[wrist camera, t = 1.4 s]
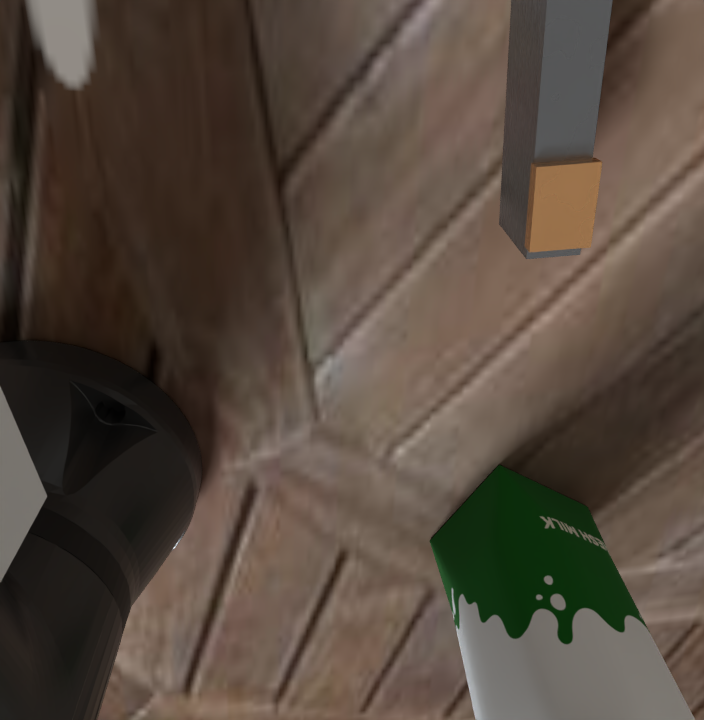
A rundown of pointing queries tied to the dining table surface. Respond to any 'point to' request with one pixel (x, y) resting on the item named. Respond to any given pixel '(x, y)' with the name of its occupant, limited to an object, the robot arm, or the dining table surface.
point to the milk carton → (546, 612)
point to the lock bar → (552, 124)
